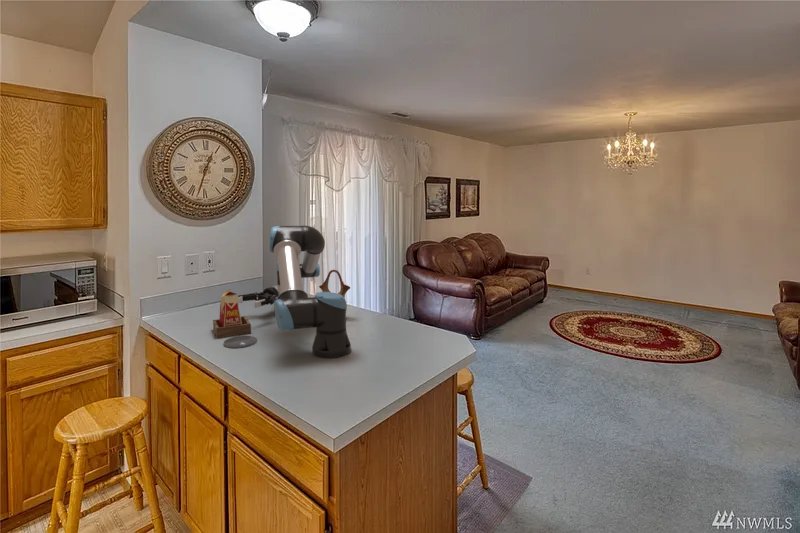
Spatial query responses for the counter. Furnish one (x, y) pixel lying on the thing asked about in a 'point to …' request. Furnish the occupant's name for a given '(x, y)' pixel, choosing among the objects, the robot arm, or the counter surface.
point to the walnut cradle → (232, 329)
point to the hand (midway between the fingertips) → (243, 303)
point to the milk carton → (229, 310)
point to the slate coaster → (240, 341)
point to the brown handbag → (343, 287)
